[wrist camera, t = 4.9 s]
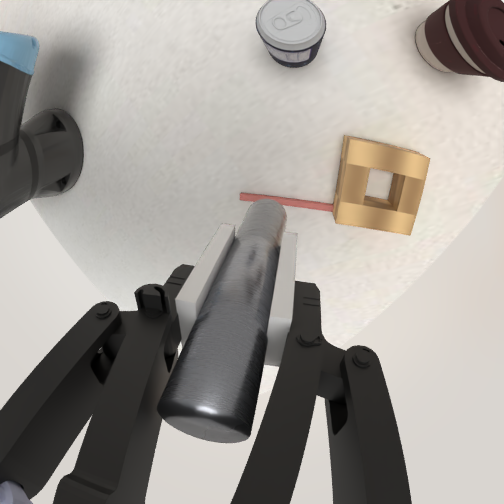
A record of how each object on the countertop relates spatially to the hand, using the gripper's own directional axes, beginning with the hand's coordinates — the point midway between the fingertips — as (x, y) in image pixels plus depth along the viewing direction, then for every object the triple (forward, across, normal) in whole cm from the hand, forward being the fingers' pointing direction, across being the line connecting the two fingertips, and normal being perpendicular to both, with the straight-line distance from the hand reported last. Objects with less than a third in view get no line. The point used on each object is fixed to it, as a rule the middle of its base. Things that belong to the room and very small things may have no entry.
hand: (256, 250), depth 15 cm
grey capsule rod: (+5, 0, 0) cm, 5 cm away
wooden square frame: (+21, +12, 0) cm, 24 cm away
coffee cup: (+21, +18, +21) cm, 35 cm away
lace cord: (+21, +1, -4) cm, 21 cm away
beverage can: (+21, 0, +16) cm, 26 cm away
